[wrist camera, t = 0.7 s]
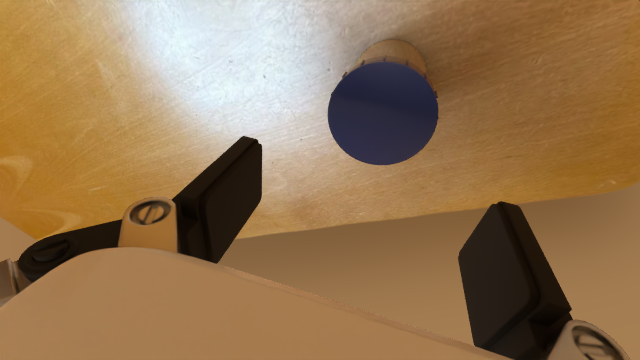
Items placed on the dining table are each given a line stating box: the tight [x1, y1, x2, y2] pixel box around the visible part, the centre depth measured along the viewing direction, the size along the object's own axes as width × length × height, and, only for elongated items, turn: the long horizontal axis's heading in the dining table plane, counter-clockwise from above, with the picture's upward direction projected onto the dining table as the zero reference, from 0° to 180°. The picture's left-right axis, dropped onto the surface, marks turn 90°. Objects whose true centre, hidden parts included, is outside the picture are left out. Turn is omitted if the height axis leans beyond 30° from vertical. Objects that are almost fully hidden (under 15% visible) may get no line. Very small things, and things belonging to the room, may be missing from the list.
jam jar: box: [355, 39, 428, 77], centre depth 22 cm, size 6×6×9 cm
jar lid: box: [328, 55, 438, 165], centre depth 18 cm, size 7×7×2 cm
